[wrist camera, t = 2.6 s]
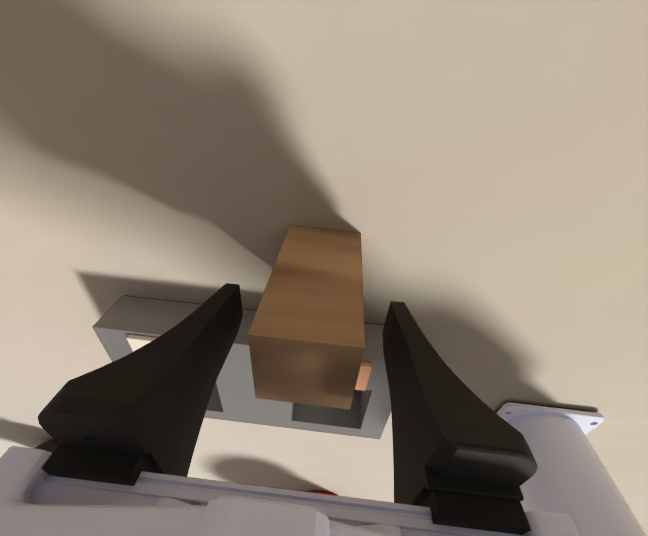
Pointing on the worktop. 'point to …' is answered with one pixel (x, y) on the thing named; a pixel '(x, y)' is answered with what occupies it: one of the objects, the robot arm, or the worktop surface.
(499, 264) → the worktop surface
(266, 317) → the plug
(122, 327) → the socket block
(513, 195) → the worktop surface
